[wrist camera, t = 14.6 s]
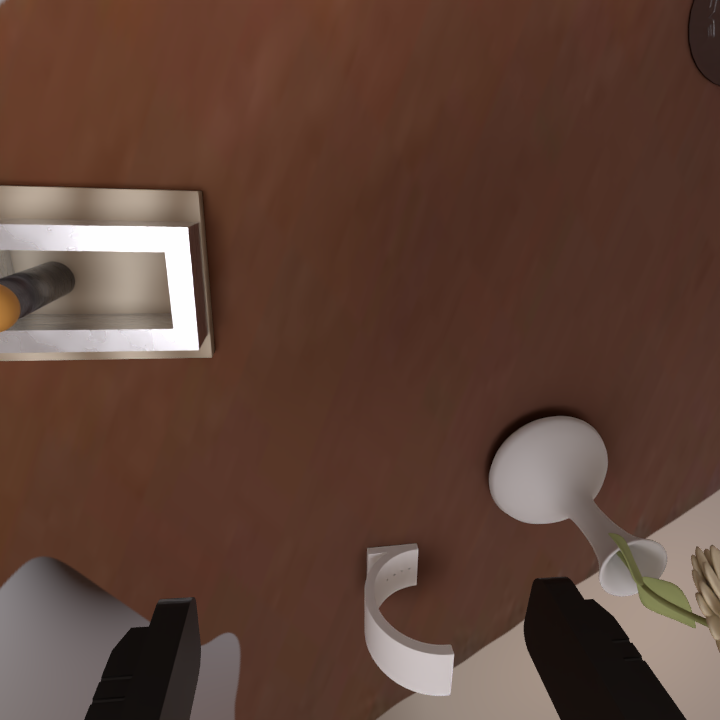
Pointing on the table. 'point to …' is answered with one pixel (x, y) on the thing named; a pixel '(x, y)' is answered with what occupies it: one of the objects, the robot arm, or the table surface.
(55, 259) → the beige plate with rod
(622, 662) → the robot arm
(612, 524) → the flower in vase
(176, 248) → the steel link
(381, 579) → the headphone stand
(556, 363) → the table surface
